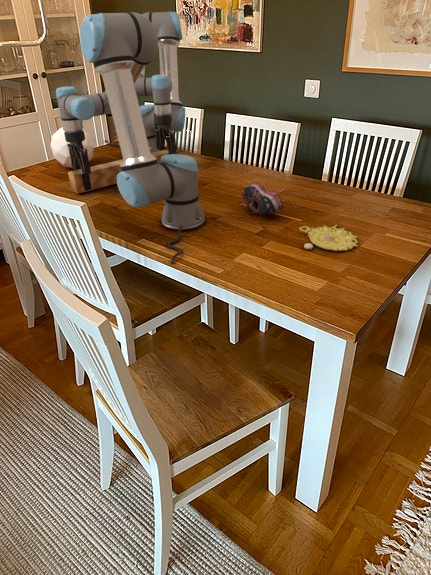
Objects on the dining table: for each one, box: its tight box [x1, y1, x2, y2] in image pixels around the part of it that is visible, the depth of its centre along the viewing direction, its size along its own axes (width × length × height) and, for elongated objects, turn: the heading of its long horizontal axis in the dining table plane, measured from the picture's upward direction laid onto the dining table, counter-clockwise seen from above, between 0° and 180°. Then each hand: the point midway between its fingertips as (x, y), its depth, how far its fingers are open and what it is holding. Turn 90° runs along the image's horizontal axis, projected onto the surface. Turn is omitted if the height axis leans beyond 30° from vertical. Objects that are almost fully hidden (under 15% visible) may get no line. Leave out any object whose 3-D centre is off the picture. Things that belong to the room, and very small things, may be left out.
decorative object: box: [299, 224, 359, 252], centre depth 141 cm, size 21×2×20 cm
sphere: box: [50, 126, 95, 170], centre depth 209 cm, size 19×20×20 cm
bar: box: [67, 148, 180, 195], centre depth 193 cm, size 51×6×8 cm, turn 129°
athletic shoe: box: [238, 182, 284, 217], centre depth 160 cm, size 11×22×12 cm
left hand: (167, 166), depth 206 cm, fingers closed on bar, 6 cm apart
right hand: (84, 187), depth 184 cm, fingers closed on bar, 6 cm apart
